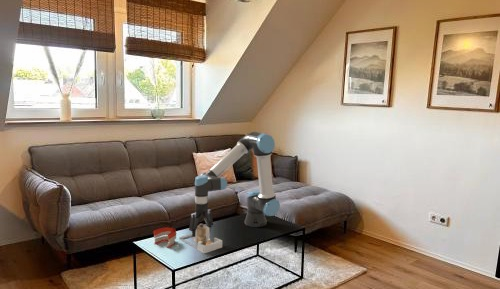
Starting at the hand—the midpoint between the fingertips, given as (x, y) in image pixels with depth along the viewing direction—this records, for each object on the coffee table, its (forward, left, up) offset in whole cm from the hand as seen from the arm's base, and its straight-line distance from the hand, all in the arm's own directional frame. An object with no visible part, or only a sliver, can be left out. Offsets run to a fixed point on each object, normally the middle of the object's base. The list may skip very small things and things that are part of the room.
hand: (201, 239), depth 216 cm
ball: (0, +8, -1) cm, 8 cm away
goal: (0, +8, -3) cm, 8 cm away
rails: (0, -4, -3) cm, 5 cm away
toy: (+14, -15, -3) cm, 21 cm away
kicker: (0, 0, -3) cm, 3 cm away
